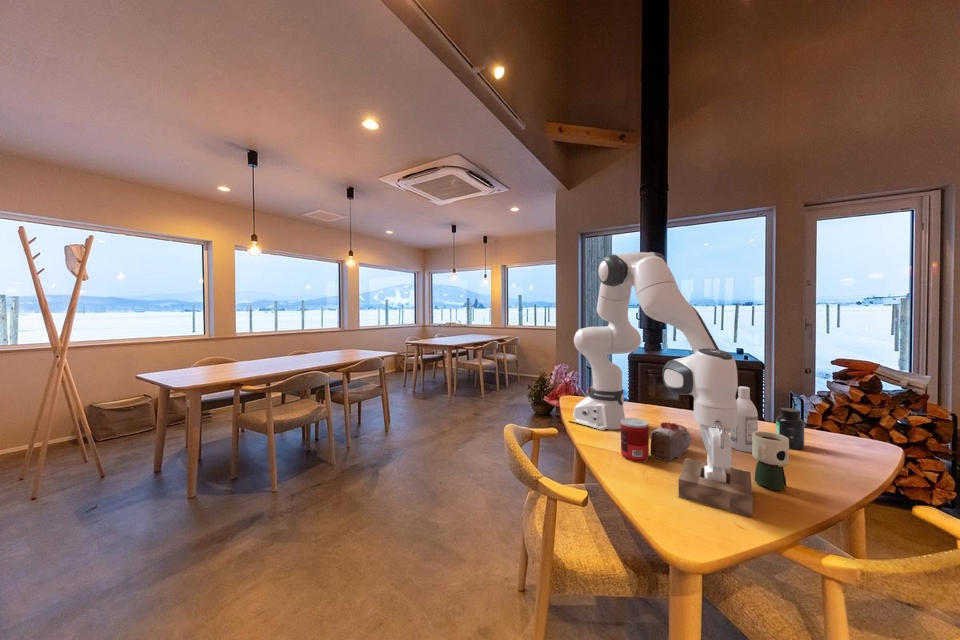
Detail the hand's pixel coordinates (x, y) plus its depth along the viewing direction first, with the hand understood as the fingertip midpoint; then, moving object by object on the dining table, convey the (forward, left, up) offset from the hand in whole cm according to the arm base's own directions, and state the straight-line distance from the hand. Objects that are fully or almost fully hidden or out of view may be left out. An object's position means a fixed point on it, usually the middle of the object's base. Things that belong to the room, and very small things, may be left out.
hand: (714, 471), depth 83 cm
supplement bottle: (+18, +48, -6) cm, 52 cm away
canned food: (-21, +11, -6) cm, 24 cm away
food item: (-12, +20, -6) cm, 24 cm away
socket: (0, 0, -6) cm, 6 cm away
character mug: (+11, +12, -6) cm, 17 cm away
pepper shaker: (0, 0, -6) cm, 6 cm away
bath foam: (+6, +37, -6) cm, 38 cm away
